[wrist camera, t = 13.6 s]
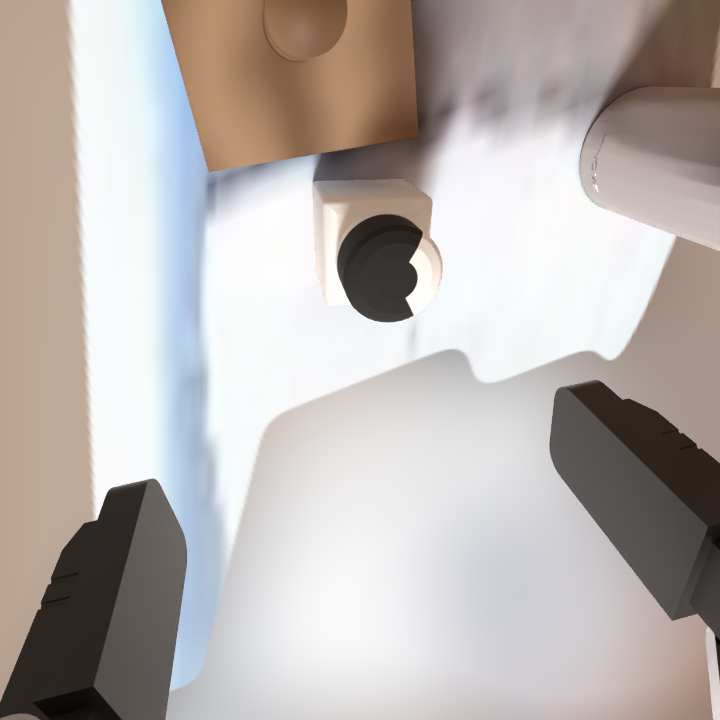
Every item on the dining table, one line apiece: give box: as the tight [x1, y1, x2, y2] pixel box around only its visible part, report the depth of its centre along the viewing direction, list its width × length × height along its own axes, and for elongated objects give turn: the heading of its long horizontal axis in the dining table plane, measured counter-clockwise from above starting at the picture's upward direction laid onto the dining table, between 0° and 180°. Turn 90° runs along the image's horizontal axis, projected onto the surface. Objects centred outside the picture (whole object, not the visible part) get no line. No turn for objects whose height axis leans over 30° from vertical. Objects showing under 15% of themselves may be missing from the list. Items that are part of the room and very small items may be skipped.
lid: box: [161, 0, 419, 172], centre depth 23 cm, size 13×13×8 cm
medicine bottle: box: [312, 179, 442, 322], centre depth 33 cm, size 7×7×12 cm
